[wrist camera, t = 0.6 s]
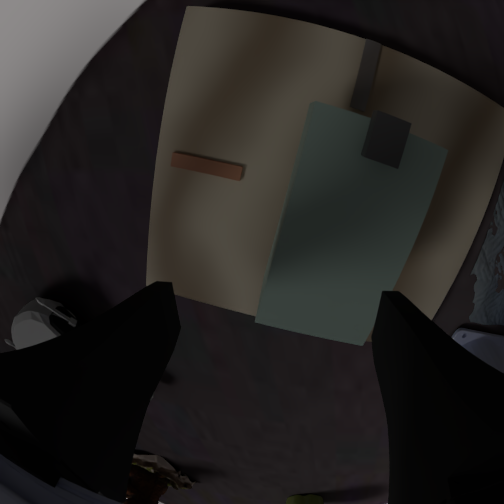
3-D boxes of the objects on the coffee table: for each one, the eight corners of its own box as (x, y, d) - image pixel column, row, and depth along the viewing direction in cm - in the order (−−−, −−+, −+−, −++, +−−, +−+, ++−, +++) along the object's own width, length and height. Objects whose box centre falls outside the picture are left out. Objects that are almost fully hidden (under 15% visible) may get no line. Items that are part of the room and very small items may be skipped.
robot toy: (170, 374, 29) (56, 267, 23) (158, 411, 25) (27, 298, 19) (108, 396, 33) (18, 315, 28) (96, 425, 29) (-3, 341, 24)
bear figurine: (94, 442, 40) (68, 495, 30) (160, 449, 36) (135, 519, 25) (140, 478, 45) (122, 527, 34) (206, 485, 41) (190, 544, 30)
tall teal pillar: (412, 131, 12) (458, 144, 8) (351, 296, 17) (364, 354, 12) (311, 97, 12) (319, 91, 8) (264, 274, 17) (252, 331, 13)
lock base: (501, 113, 13) (531, 118, 10) (408, 336, 22) (419, 365, 19) (195, 12, 14) (175, -4, 11) (154, 274, 22) (135, 300, 19)
